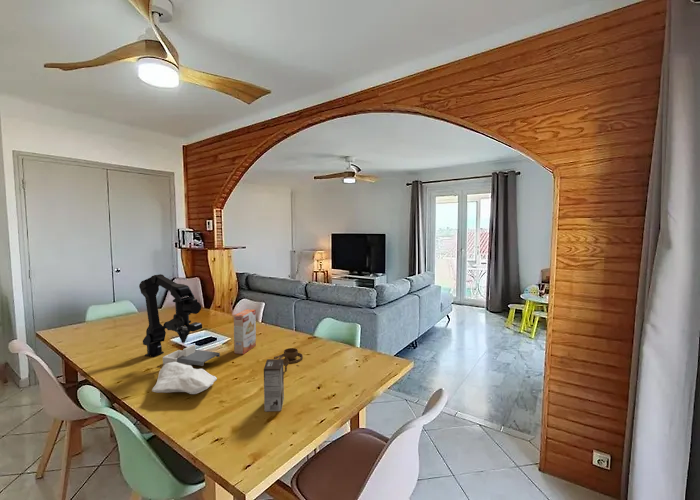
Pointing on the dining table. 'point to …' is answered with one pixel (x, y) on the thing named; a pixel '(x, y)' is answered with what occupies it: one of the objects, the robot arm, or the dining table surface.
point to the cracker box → (244, 331)
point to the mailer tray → (173, 357)
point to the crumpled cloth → (182, 379)
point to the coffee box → (273, 385)
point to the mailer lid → (196, 356)
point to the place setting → (290, 356)
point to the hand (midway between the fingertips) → (183, 342)
